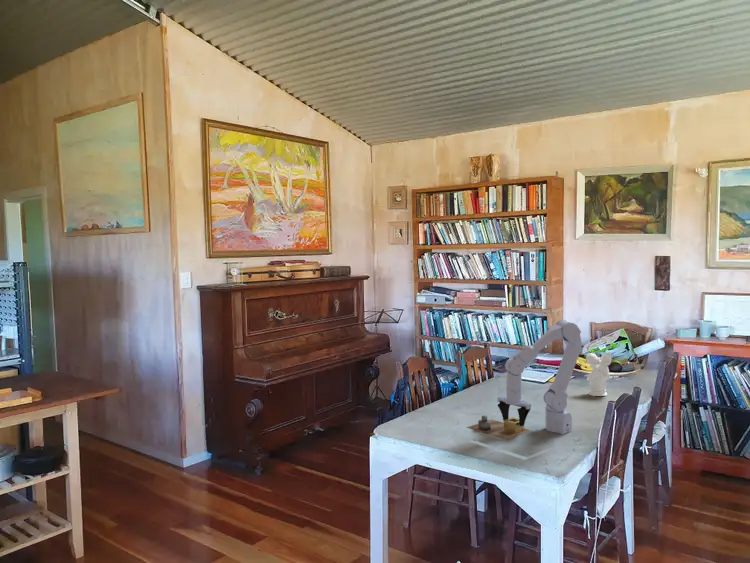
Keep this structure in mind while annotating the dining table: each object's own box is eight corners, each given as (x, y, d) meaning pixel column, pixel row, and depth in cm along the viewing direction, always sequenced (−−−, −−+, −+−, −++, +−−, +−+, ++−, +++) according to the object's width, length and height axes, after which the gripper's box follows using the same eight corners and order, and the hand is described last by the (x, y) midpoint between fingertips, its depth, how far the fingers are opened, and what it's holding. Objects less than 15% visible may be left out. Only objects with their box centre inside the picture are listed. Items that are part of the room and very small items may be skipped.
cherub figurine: (582, 394, 282) (583, 350, 280) (595, 389, 290) (595, 347, 289) (606, 398, 273) (607, 353, 271) (618, 394, 281) (619, 349, 280)
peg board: (532, 433, 224) (532, 418, 224) (507, 442, 214) (507, 426, 213) (491, 421, 239) (491, 407, 239) (466, 429, 229) (466, 415, 229)
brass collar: (524, 430, 224) (524, 420, 224) (515, 433, 220) (515, 423, 220) (512, 427, 228) (512, 417, 228) (503, 430, 225) (503, 420, 225)
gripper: (492, 387, 226) (492, 421, 227) (523, 394, 215) (523, 429, 216) (503, 384, 231) (503, 417, 232) (534, 391, 220) (534, 426, 221)
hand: (513, 423), depth 224 cm, fingers open, 7 cm apart
